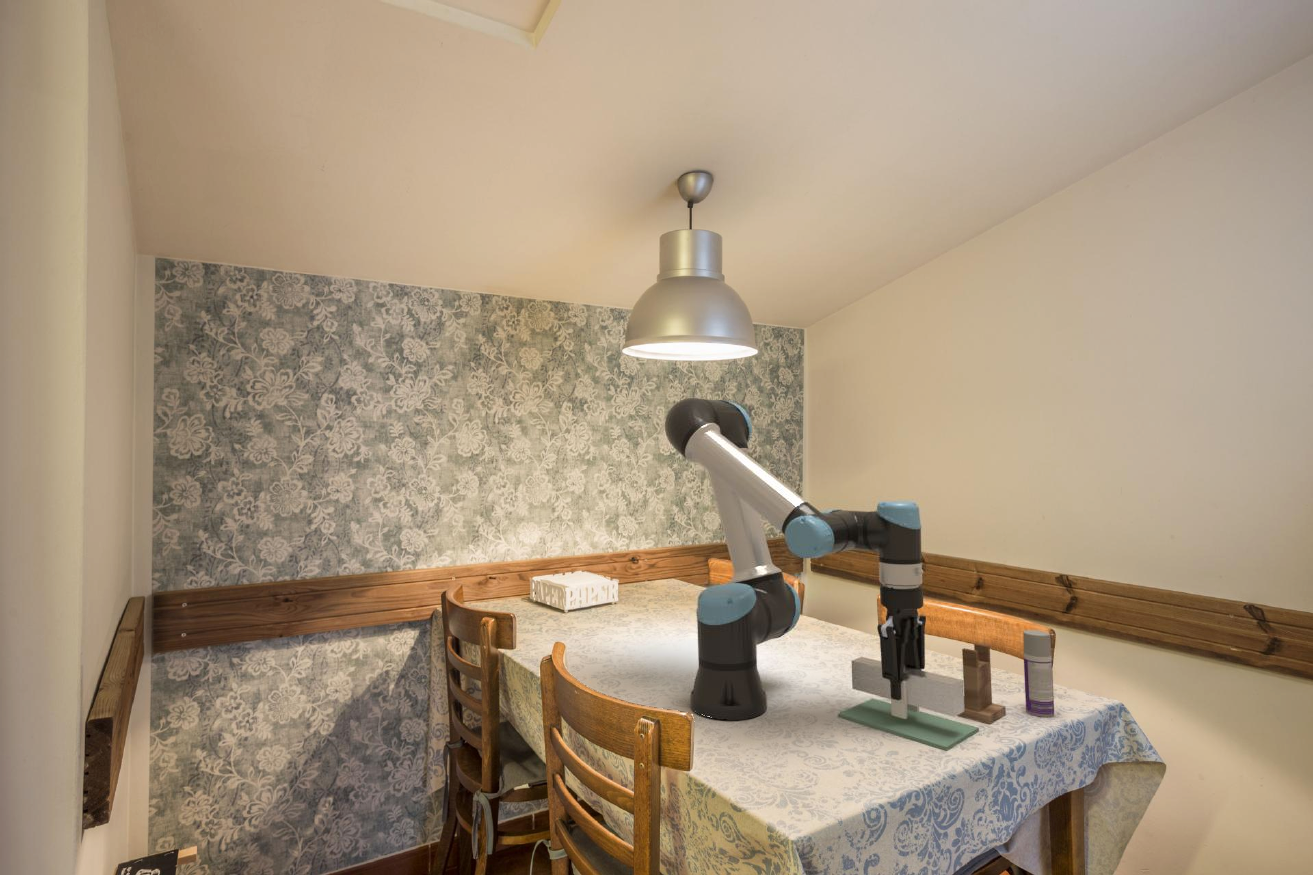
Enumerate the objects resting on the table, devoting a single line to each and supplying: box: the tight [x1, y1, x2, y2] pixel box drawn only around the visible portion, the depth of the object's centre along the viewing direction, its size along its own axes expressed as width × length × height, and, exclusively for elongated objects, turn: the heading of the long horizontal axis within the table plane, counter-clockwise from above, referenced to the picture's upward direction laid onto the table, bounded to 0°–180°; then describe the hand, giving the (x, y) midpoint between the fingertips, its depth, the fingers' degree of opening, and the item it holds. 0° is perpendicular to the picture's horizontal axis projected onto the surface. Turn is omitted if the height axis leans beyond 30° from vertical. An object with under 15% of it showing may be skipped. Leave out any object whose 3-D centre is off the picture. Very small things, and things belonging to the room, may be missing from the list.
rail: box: [851, 656, 964, 718], centre depth 123 cm, size 4×20×5 cm, turn 41°
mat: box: [837, 698, 980, 752], centre depth 123 cm, size 12×21×1 cm, turn 41°
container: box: [1022, 629, 1055, 718], centre depth 127 cm, size 5×5×15 cm
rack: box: [897, 637, 1007, 725], centre depth 132 cm, size 7×21×12 cm, turn 41°
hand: (905, 713), depth 123 cm, fingers closed on rail, 4 cm apart
